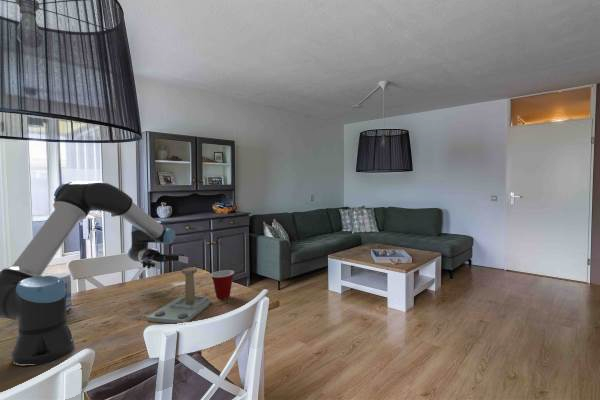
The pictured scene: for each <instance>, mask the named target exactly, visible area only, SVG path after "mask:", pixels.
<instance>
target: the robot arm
mask: <svg viewBox="0 0 600 400" xmlns="http://www.w3.org/2000/svg"><path fill="white" fill-rule="evenodd" d="M53 201H54V202H53V205H52V206H53V208H54V210H53V211H52V213H51V214H50V215H49V217H47V219H46V220H45V222H44V223H43V225H42V226H41V227H40V228H39V230H38V231H37V232H36V234H35V235H34V236H33V238H32V239H31V240H30V242H29V243H28V245H27V246H26V247H25V248H24V250H23V251H22V252H21V254H20V255H19V256H18V257H17V259H16V260H15V262H14V263H13V264H12V265H11V266H9V267H5V268H3V269H2V270H1V271H0V319H8V320H17V321H18V336H17V338H16V342H15V345H14V349H13V351H12V353H11V361H13V362H15V363H18V364H38V365H42V364H45V362H46V363H48V362H52V361H54V360H55V361H56V360H57V359H60V358H62V357H63V356H65V355H67V354H68V353H70V352H71V351H72V349H73V348H74V347H75V342H74V341H75V339H74V336H73V335H72V332H71V330H70V328H69V326H68V323H67V311H66V289H65V283H64V281H63V280H62V279H61V278H58V277H54V276H47V275H44V276H43V274H44V272H45V270H46V269H47V267H48V266H49V264H50V263H51V262H52V261H53V258H54V257H55V256H56V255H57V253H58V252H59V250H60V249H61V247H62V246H63V244H64V243H65V241H66V239H67V238H68V237H69V235H70V234H71V232H72V231H73V229H74V228H75V226H76V225H77V223H78V222H79V221H82V220H85V219H87V217H88V215H89V213H90V212H91V211H93V212H94V211H95V212H96V211H98V212H99V211H100V212H106V213H110V214H112V215H113V216H116V217H121V218H123V220H125V221H126V222H128V223H129V224H131V232H130V233H131V234H130V235H131V236H130V237H131V247H130V248H129V250H128V252H127V255H128V256H127V257H128V258H129V259H130V260H132V261H133V262H139V263H140V264H141V265H142V268H147V269H151V268H154V269H157V270H160V269H161V263H166V262H173V261H174V262H180V263H183V264H188V263H189V257H188V256H185V254H184V253H183V254H182V253H169V252H167V253H164V254H163V253H161V252H160V251H158V249H152V248H149V243H151V244H172V243H173V242H174V241H175V239H176V232H175V230H174V229H173V228H169V227H164V225H162V224H160V222H158V221H157V220H156V219H154V218H153V217H152V216H151V215H149V214H148V213H147V212H145V211H144V210H143V209H142V208H140V206H138V205H137V204H136V203H134V200H133V198H132V197H131V196H130V195H128V194H127V193H126V192H125V191H124V190H122V189H120V188H119V187H116V186H115V185H113V184H110V183H108V182H105V181H99V180H98V181H97V180H96V181H85V180H84V181H83V180H82V181H81V180H73V181H66V182H63V183H61V184H60V185H58V187H56V189H55V191H54V194H53ZM41 363H42V364H41Z"/></svg>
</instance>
